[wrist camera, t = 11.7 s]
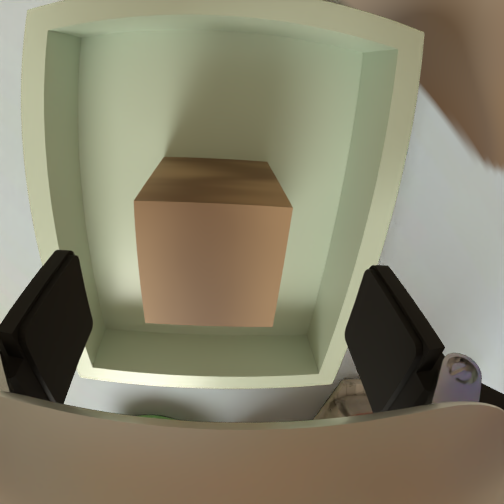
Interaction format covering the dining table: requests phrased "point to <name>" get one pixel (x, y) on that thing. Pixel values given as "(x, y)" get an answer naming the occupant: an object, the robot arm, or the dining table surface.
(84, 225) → the bin
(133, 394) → the dining table surface
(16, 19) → the dining table surface
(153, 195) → the walnut block
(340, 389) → the packaged product
